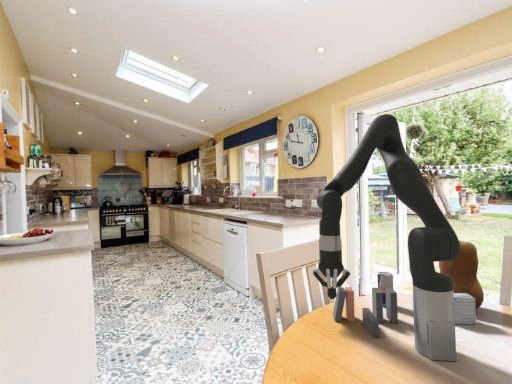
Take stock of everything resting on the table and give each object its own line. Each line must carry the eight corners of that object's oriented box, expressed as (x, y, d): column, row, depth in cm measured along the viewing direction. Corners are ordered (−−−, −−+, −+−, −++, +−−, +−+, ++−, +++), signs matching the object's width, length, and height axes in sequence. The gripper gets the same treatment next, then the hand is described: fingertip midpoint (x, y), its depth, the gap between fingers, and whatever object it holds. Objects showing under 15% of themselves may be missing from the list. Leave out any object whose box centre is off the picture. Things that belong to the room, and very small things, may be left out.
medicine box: (467, 318, 93) (466, 292, 93) (476, 325, 88) (475, 297, 88) (442, 318, 94) (441, 292, 94) (450, 324, 89) (449, 297, 89)
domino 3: (368, 323, 92) (379, 338, 82) (362, 323, 92) (372, 338, 82) (368, 307, 92) (378, 321, 82) (362, 307, 92) (371, 321, 82)
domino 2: (354, 322, 92) (353, 292, 93) (348, 322, 93) (347, 291, 93) (351, 315, 97) (350, 287, 98) (345, 315, 98) (345, 287, 98)
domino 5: (397, 323, 90) (396, 293, 91) (391, 323, 91) (390, 292, 91) (392, 317, 95) (391, 288, 96) (386, 317, 96) (385, 287, 96)
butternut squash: (484, 306, 102) (481, 238, 102) (484, 320, 91) (481, 244, 92) (439, 298, 111) (436, 235, 111) (434, 310, 100) (432, 240, 101)
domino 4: (383, 323, 91) (382, 292, 91) (376, 323, 91) (375, 292, 92) (378, 316, 96) (377, 287, 96) (372, 316, 96) (371, 287, 96)
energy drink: (375, 303, 107) (374, 272, 108) (386, 301, 109) (385, 271, 109) (385, 308, 102) (384, 276, 102) (397, 306, 104) (396, 274, 104)
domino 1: (340, 321, 93) (346, 292, 93) (334, 320, 93) (340, 291, 93) (338, 315, 98) (343, 287, 98) (332, 313, 98) (337, 286, 98)
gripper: (348, 245, 99) (349, 294, 98) (310, 246, 101) (311, 294, 100) (352, 250, 91) (354, 303, 91) (311, 250, 93) (313, 302, 93)
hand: (331, 298), depth 96 cm, fingers closed
